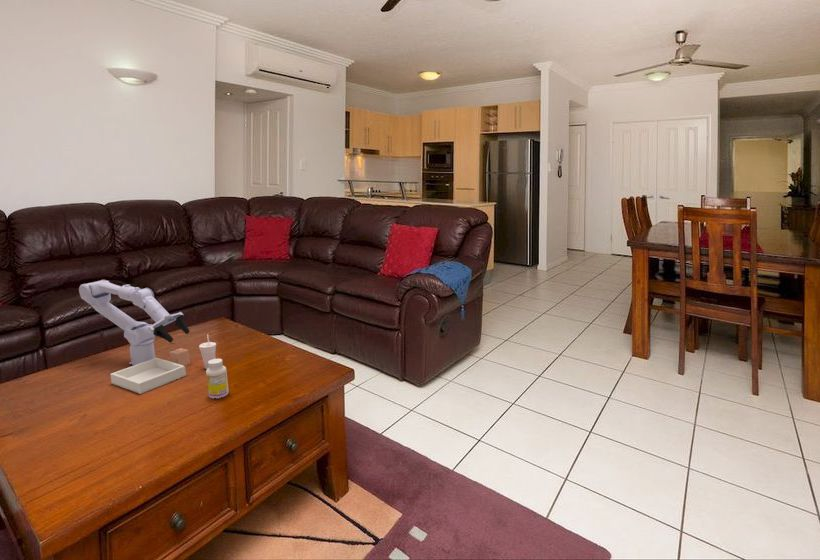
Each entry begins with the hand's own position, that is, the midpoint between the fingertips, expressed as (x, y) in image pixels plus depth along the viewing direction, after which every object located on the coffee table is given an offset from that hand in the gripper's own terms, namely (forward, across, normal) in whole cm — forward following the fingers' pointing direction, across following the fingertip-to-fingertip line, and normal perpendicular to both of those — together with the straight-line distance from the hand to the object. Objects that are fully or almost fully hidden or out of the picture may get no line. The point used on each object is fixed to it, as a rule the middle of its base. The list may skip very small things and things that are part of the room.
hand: (180, 336), depth 181 cm
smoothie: (+16, +4, +5) cm, 17 cm away
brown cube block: (+6, 0, +14) cm, 15 cm away
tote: (+6, -15, +10) cm, 19 cm away
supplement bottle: (+31, -13, -12) cm, 36 cm away
